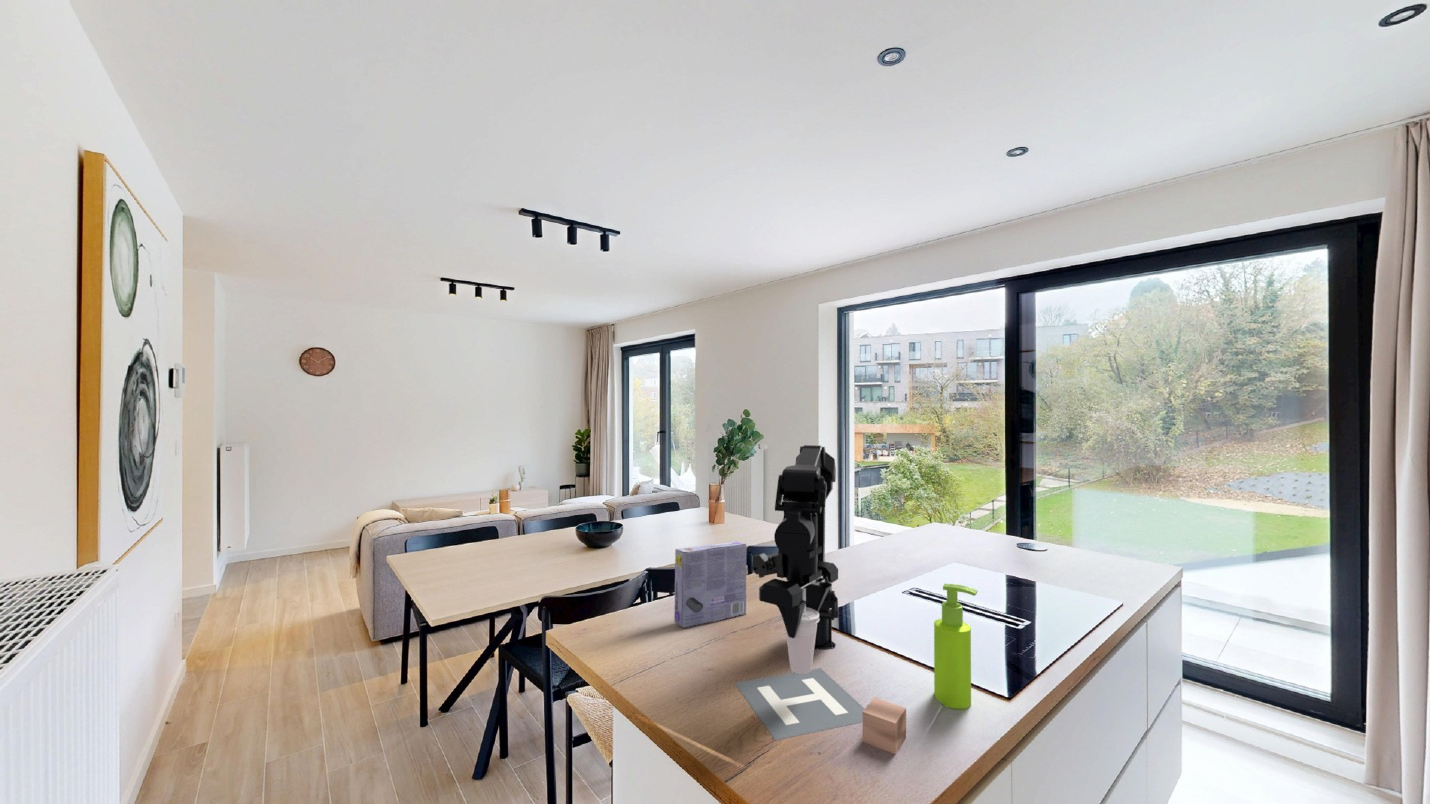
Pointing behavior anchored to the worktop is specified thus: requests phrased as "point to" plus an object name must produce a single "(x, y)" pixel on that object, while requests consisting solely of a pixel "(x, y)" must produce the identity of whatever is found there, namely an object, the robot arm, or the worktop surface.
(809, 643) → the smoothie
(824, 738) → the worktop surface
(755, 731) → the worktop surface
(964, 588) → the soap dispenser
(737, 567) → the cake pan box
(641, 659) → the worktop surface
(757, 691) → the board
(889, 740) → the terracotta block
